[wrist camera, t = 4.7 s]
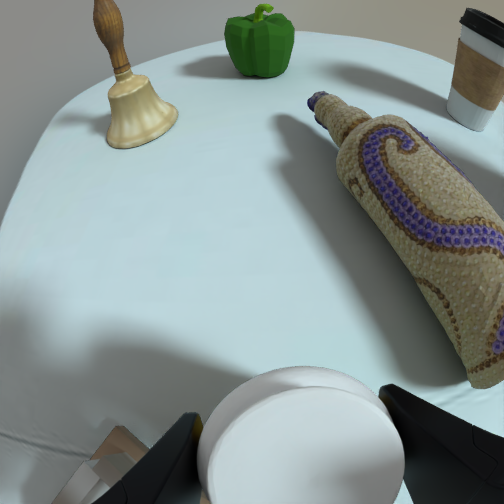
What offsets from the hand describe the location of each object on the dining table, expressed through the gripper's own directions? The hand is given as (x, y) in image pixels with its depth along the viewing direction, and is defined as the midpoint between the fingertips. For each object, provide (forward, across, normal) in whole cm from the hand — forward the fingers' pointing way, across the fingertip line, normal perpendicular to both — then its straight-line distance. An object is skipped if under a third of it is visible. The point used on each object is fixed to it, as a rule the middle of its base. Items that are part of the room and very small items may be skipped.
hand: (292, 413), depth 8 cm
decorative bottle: (+13, -11, -2) cm, 17 cm away
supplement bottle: (+4, 0, +6) cm, 7 cm away
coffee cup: (+23, -28, -14) cm, 39 cm away
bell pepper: (+31, -3, -21) cm, 38 cm away
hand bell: (+24, +11, -15) cm, 31 cm away
